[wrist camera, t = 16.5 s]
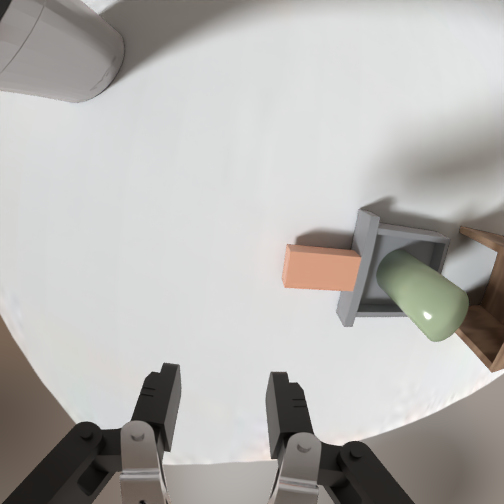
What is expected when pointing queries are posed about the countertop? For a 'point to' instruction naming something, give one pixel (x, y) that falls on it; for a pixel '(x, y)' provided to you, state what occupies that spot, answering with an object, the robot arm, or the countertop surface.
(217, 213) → the countertop surface
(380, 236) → the tray
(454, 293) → the jar
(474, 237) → the cabinet
